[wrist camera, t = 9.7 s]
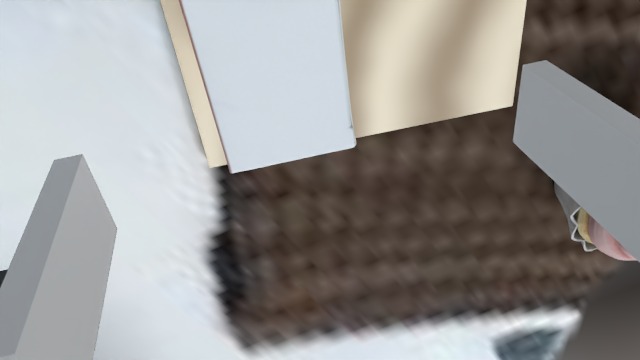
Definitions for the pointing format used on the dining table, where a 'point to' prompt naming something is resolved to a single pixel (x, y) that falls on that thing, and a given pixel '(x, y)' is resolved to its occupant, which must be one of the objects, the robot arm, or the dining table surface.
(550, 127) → the robot arm
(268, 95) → the small box
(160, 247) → the dining table surface
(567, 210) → the cupcake
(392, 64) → the birch board
